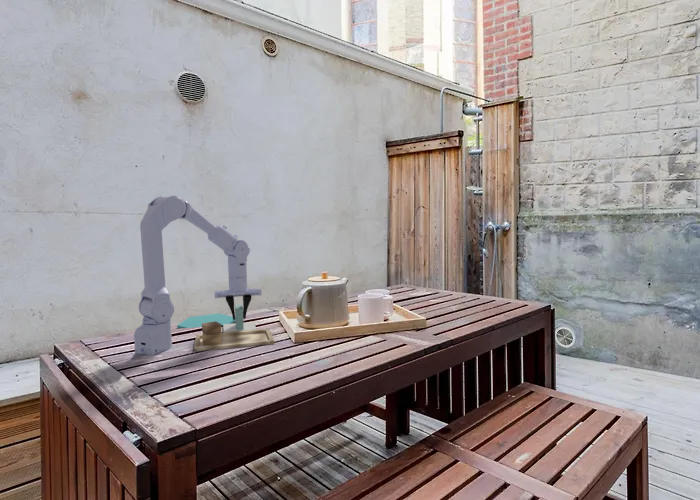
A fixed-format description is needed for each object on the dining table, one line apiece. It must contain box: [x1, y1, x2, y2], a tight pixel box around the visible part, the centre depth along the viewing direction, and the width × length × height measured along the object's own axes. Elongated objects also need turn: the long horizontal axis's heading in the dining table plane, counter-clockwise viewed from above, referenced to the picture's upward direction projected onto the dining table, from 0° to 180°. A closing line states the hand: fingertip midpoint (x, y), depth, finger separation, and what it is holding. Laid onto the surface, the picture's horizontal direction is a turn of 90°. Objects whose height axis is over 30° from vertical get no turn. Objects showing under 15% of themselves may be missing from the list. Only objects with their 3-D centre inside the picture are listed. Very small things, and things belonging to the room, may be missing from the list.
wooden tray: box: [193, 328, 276, 352], centre depth 130 cm, size 22×14×2 cm, turn 107°
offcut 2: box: [202, 332, 222, 346], centre depth 128 cm, size 5×5×3 cm
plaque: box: [176, 312, 236, 329], centre depth 154 cm, size 17×2×20 cm
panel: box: [234, 304, 244, 330], centre depth 142 cm, size 2×7×6 cm, turn 16°
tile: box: [222, 321, 257, 333], centre depth 143 cm, size 10×10×2 cm
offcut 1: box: [201, 321, 222, 335], centre depth 128 cm, size 4×5×2 cm
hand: (239, 318), depth 142 cm, fingers open, 3 cm apart
